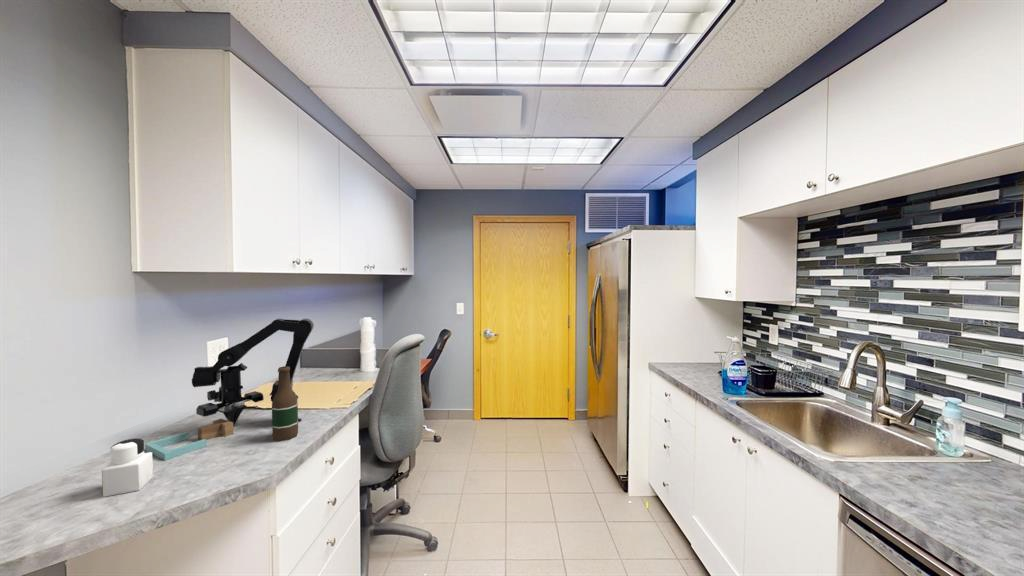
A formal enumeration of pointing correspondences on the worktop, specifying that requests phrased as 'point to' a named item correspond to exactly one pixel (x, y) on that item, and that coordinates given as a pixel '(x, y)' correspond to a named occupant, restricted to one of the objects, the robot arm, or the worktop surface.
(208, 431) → the t block
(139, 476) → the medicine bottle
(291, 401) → the beer bottle
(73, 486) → the worktop surface
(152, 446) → the jig
